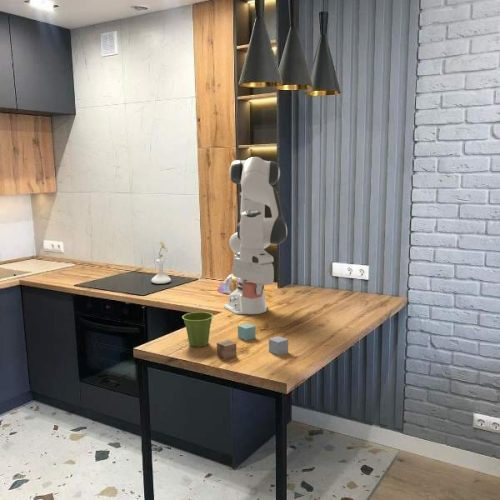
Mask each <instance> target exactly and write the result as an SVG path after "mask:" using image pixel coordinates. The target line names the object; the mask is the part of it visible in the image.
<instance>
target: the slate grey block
mask: <svg viewBox="0 0 500 500" xmlns="http://www.w3.org/2000/svg"><path fill="white" fill-rule="evenodd" d="M268 352H269V353H271V354H273V355H276V356H281V355H284V354H287V353H289V339H288V338H285V337H282V336H280V335H279V336H278V335H277V336H275V337H270V338H269V339H268Z"/></svg>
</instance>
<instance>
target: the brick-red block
mask: <svg viewBox="0 0 500 500" xmlns="http://www.w3.org/2000/svg"><path fill="white" fill-rule="evenodd" d="M242 284H243V297H246V298H249V299H254V298H259V297H262V288H261V294H258V295H257V294H255V289H256V288H257V285H256V282H247V283H242Z"/></svg>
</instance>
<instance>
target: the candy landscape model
mask: <svg viewBox="0 0 500 500" xmlns="http://www.w3.org/2000/svg"><path fill="white" fill-rule="evenodd" d="M239 281H240V278H237V277H234V276H233V274H232V273H231V274H229V275H228V276H227V277H226V279H224V281H219V286H218V287H217V290H216V291H217V292H218V293H220V294H229V295H230V294H231V293H232V292H234V291H235V290H236V289H237V286H238V284H237V283H238V282H239Z"/></svg>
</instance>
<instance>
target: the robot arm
mask: <svg viewBox="0 0 500 500" xmlns="http://www.w3.org/2000/svg"><path fill="white" fill-rule="evenodd" d="M228 176H229V177H230V181H231V183H232V184H236V185H240V186H241V195H240V212H239V213H240V221H239V222H238V223H237V225H236V227H237V230H236V231H237V232H235V233H233V234H232V235H231V236H230V238H229V240H228V241H229V242H228V244H229V248H230V250H231V251H232V253H234V257H233V261H232V266H231V267H232V270H231V274H233V276H234V277H237V278H240V281H239V282H238V283H237V284H238V286H237V289H236V290H235V291H234V292H232V293H231V294H229V295H228V301H227V303H225V304H224V303H223V305H222V306H223V308H225V309H227V310H228V311H229V312H231V313H233V314H235V315H259V314H264V313H266V312H267V310H268V305H267V302H266V293H265V291H264V289H265V286H266V285H272V284H273V282H274V280H275V279H274V277H275V276H274V275H275V273H274V272H275V269H274V264H273V263H274V260H275V259H274V256H273V255H272V254H270V253H268V251H266V250H265V249H267V248H268V247H269V246H270V245H281V244H282V243H283V242H284V241H286V239H287V236H288V227H287V224H286V221H285V217H284V215H283V214H284V213H283V210H282V207H281V201H280V197H279V195H278V191H277V189H276V188H275V187H273V186H274V185H276V184H277V183H278V181H279V180H280V177H281V169H280V167H279V164H278V162H276V161H273V160H269V161H268V160H265V159H262V158H261V157H259V156H251V157H249V158H248V159H244V160H241V159H236V160H233V161H232V162H231V165H230V166H229V169H228ZM266 206H267V207H269V209H270V213H271V217H265V215H266V213H265V211H266V210H265V209H266ZM247 282H256V285H257V288H256V289H255V294H257V295H258V294H261V288H262V297H259V298H254V299H249V298H246V297H243V284H242V283H247Z"/></svg>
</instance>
